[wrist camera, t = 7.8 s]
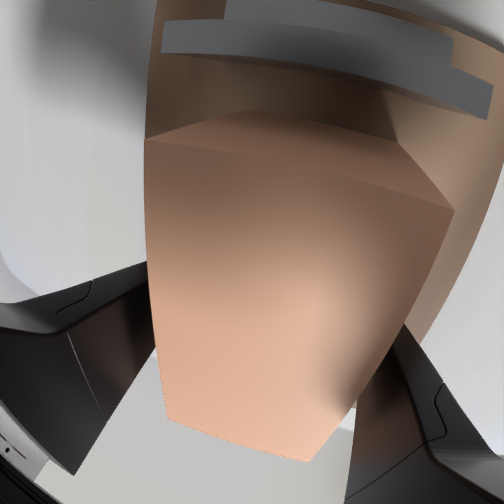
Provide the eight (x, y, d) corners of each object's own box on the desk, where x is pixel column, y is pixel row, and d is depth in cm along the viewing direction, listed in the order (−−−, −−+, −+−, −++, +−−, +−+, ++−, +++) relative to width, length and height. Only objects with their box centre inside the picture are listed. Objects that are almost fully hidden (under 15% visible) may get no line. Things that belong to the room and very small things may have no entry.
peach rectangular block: (398, 142, 9) (454, 210, 4) (330, 343, 14) (308, 462, 9) (248, 109, 10) (144, 140, 5) (225, 313, 15) (168, 418, 10)
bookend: (448, 40, 7) (500, 19, 3) (436, 107, 8) (486, 120, 5) (233, -2, 8) (174, -38, 4) (225, 61, 9) (160, 53, 6)
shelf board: (511, 65, 7) (523, 65, 6) (372, 397, 16) (371, 411, 15) (172, -4, 9) (159, -9, 8) (163, 337, 18) (155, 348, 18)
